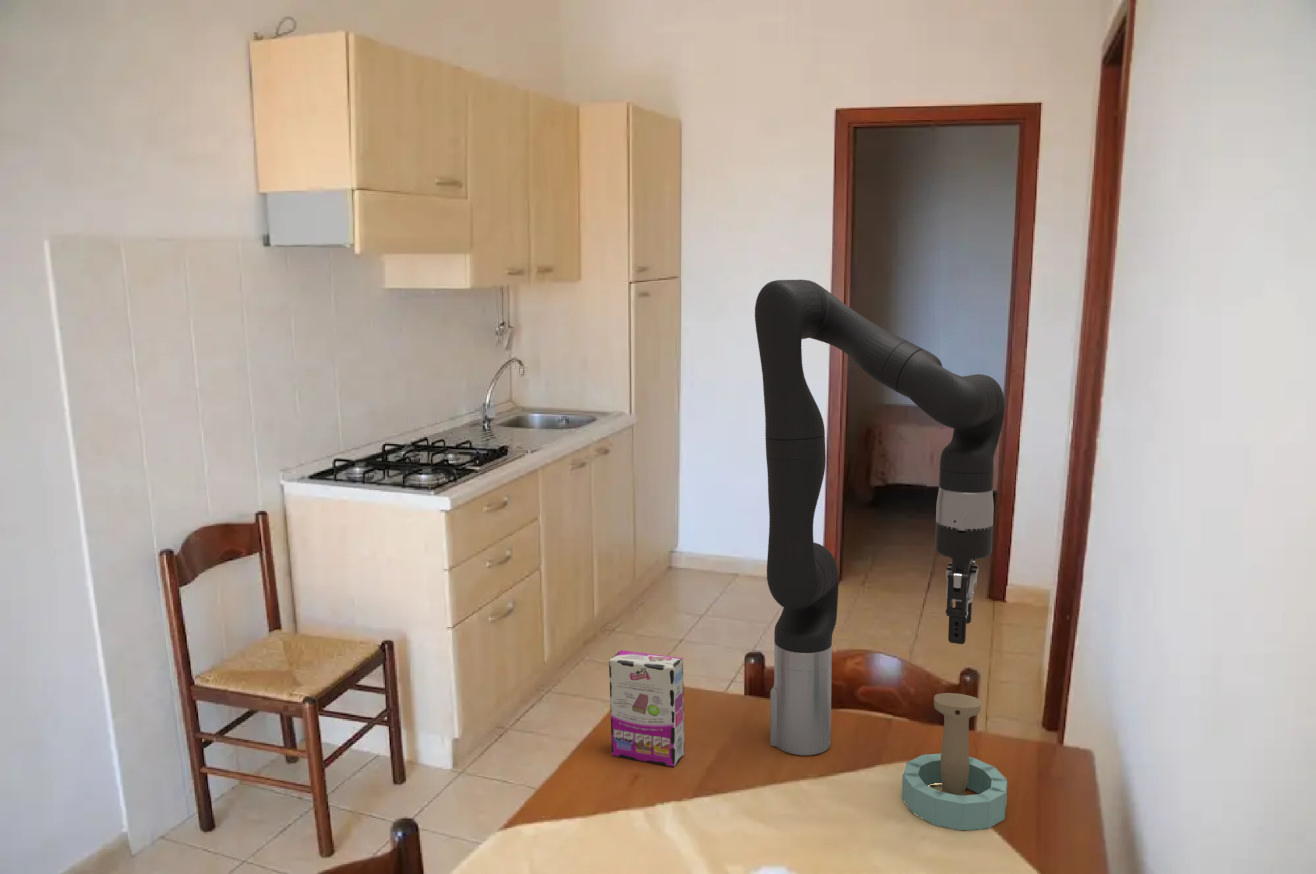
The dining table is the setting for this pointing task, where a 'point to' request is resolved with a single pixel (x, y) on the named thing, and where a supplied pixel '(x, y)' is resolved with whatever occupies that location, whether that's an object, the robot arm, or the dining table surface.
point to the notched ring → (950, 807)
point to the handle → (955, 739)
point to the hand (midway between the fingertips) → (959, 632)
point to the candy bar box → (647, 707)
